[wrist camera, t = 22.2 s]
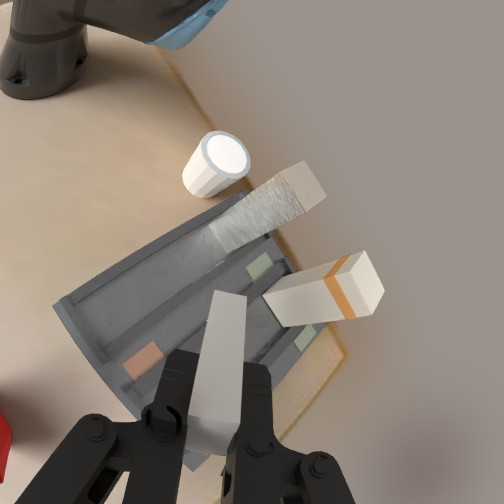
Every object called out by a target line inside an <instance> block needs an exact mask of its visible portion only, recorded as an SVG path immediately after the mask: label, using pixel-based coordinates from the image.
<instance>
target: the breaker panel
mask: <svg viewBox="0 0 504 504" xmlns="http://www.w3.org/2000/svg"><path fill="white" fill-rule="evenodd" d="M326 197H327V195H326V193H325V192H324V190H323V189H322V187H321V185H320V184H319V182H318V181H317V179H316V178H315V176H314V174H313V172H312V171H311V169H310V168H309V166H308V165H307V163H306V162H305V160H303V161H301V162H299V163H297V164H295V165H293V166H291V167H288V168H286V169H284V170H282V171H280V172H279V173H278V174H276V175H275V176H273V177H272V178H270V179H269V180H268V181H266V182H265V183H264V184H262V185H261V186H259V187H258V188H257V189H255V190H254V191H253V192H251V193H250V194H248V192H247V191H246V189H245V190H243V191H241V192H240V193H239V194H237V195H235V196H233V197H231V198H229V199H227V200H225V201H224V202H222V203H220V204H218V205H216V206H214V207H212V208H211V209H209V210H207V211H205V212H203V213H201V214H200V215H198V216H196V217H194V218H192V219H191V220H189V221H187V222H185V223H184V224H182V225H180V226H178V227H177V228H175V229H173V230H171V231H170V232H168V233H166V234H164V235H163V236H161V237H159V238H158V239H156V240H154V241H153V242H151V243H149V244H147V245H146V246H144V247H142V248H141V249H139V250H137V251H136V252H134V253H133V254H131V255H129V256H128V257H126V258H124V259H123V260H121V261H120V262H118V263H116V264H115V265H113V266H111V267H110V268H108V269H107V270H105V271H104V272H102V273H100V274H99V275H97V276H96V277H94V278H93V279H91V280H90V281H88V282H87V283H85V284H83V285H82V286H80V287H79V288H77V289H76V290H74V291H73V292H71V293H70V294H68V295H67V296H64V297H63V298H61V299H60V300H59V302H57V303H56V304H54V305H53V308H54V310H55V312H56V313H57V315H58V317H59V318H60V320H61V321H62V323H63V325H64V326H65V328H66V329H67V331H68V332H69V334H70V335H71V337H72V338H73V340H74V341H75V343H76V344H77V346H78V347H79V349H80V350H81V352H82V353H83V354H84V356H85V357H86V359H87V360H88V361H89V363H90V364H91V365H92V367H93V368H94V369H95V371H96V372H97V373H98V374H99V376H100V377H101V378H102V380H103V381H104V382H105V383H106V385H107V386H108V387H109V388H110V389H111V391H112V392H113V393H114V394H115V395H116V397H117V398H118V399H119V400H120V401H121V402H122V403H123V405H124V406H125V407H126V408H127V409H128V410H129V411H130V412H131V413H132V415H133V416H134V417H135V418H136V419H137V420H138V421H139V420H141V412H142V411H143V409H144V407H145V406H147V405H148V404H150V403H152V402H153V400H154V397H155V394H156V390H157V387H158V384H159V381H160V378H161V374H162V371H163V369H164V365H165V362H166V359H167V356H168V355H169V354H170V353H171V352H172V351H173V350H174V349H175V348H176V349H181V350H185V351H189V352H194V353H199V354H200V353H201V348H202V343H203V339H204V334H205V330H206V325H207V321H208V316H209V312H210V307H211V303H212V298H213V294H214V290H218V291H223V292H228V293H232V294H237V295H242V296H247V305H246V323H245V341H244V359H243V361H244V362H250V363H256V364H263V365H266V367H267V368H268V370H269V372H270V374H271V383H272V387H271V389H272V390H273V389H274V388H275V387H276V386H277V384H278V383H279V382H280V381H281V380H282V379H283V377H284V376H285V375H286V374H287V373H288V371H289V370H290V369H291V368H292V367H293V365H294V364H295V363H296V362H297V360H298V359H299V358H300V357H301V355H302V354H303V353H304V352H305V350H306V349H307V348H308V347H309V345H310V344H311V343H312V341H313V340H314V339H315V338H316V336H317V335H318V334H319V332H320V331H321V330H322V328H323V327H324V326H325V323H324V322H322V323H315V324H307V325H298V326H290V327H283V326H282V325H281V323H280V322H279V320H278V319H277V317H276V316H275V314H274V313H273V311H272V309H271V308H270V306H269V305H268V303H267V302H266V300H265V299H264V297H263V296H262V295H263V294H264V293H265V292H266V291H267V290H268V289H269V288H270V287H271V286H272V285H273V284H274V283H276V282H277V281H278V280H279V279H280V278H281V277H284V276H287V275H290V274H294V273H297V271H296V269H295V267H294V266H293V264H292V263H291V261H290V259H289V258H288V256H286V257H284V255H283V254H282V252H281V250H280V249H279V247H278V246H277V244H276V242H275V241H274V239H273V238H272V236H273V235H274V233H273V232H272V230H273V229H275V228H277V227H279V226H281V225H283V224H285V223H286V222H289V221H291V220H293V219H294V218H296V217H298V216H300V215H302V214H304V213H306V212H308V211H309V210H310V209H311V208H313V207H314V206H315V205H317V204H318V203H319V202H320V201H322V200H323V199H324V198H326ZM210 455H212V454H208V453H203V452H197V451H192V450H187V449H184V455H183V462H182V463H183V464H184V465H186V466H187V467H188V468H189V469H190V470H192V471H194V470H195V469H197V468H198V467H199V466H200V465H201V464H202V463H203V462H204V461H205V460H206V459H207V458H208V457H209V456H210Z"/></svg>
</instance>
